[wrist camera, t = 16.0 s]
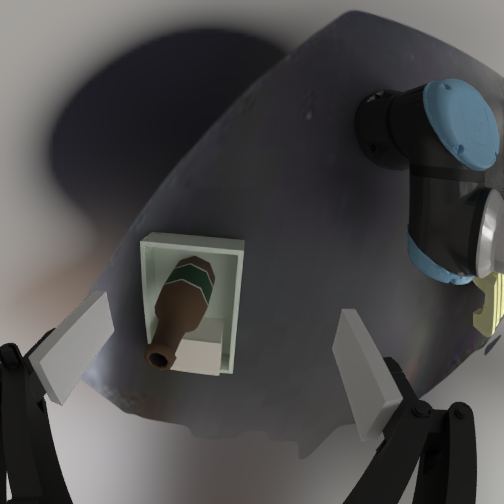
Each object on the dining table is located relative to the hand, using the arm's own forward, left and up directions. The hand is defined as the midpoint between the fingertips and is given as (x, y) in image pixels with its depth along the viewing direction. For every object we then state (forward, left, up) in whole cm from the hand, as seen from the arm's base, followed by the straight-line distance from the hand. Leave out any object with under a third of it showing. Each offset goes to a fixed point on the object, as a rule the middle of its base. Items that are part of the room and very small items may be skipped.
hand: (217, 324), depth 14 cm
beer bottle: (+7, +12, -34) cm, 37 cm away
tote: (+7, +18, -34) cm, 40 cm away
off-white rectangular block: (+7, +25, -33) cm, 43 cm away
